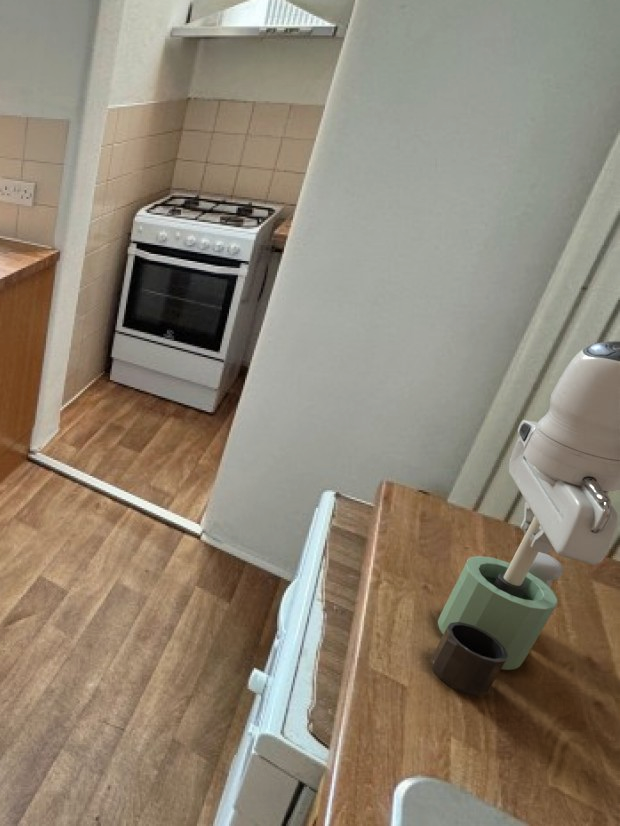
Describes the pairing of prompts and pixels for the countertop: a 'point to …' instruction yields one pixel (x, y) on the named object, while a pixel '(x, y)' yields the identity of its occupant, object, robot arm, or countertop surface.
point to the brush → (519, 565)
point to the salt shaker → (546, 568)
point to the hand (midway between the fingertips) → (533, 541)
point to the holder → (468, 659)
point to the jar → (499, 607)
